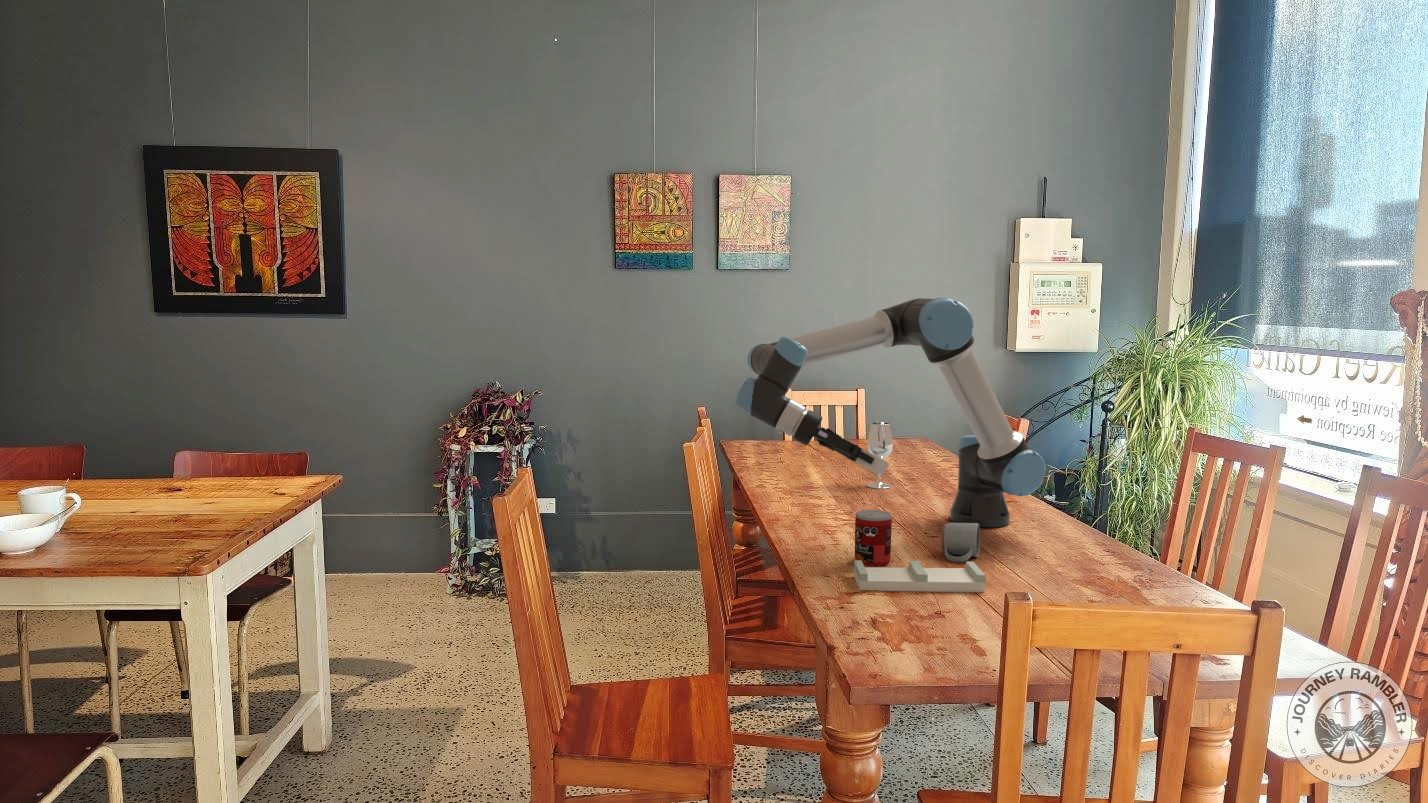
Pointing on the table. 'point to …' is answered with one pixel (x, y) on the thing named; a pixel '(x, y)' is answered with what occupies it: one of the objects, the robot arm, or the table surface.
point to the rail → (911, 584)
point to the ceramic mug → (960, 541)
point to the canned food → (873, 537)
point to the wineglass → (880, 447)
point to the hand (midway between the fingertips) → (884, 469)
